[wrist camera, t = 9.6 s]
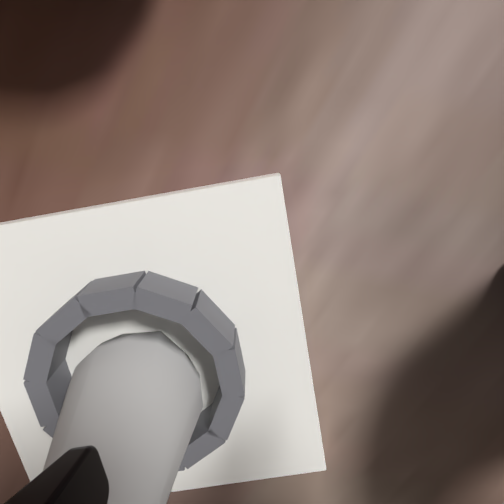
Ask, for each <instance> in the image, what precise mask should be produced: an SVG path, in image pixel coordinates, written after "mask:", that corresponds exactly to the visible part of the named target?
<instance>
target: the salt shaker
mask: <svg viewBox="0 0 504 504" xmlns="http://www.w3.org/2000/svg"><path fill="white" fill-rule="evenodd" d="M202 408H203V401H202V391H201V381H200V374H199V373H198V371H197V369H196V368H195V366H194V364H193V363H192V361H191V359H190V358H189V356H188V355H187V354H186V353H185V352H184V351H183V350H182V349H181V348H180V347H178V346H177V345H176V344H175V343H174V342H173V341H172V340H171V339H169V338H168V337H167V336H166V335H165V334H164V333H163V332H162V331H153V332H139V333H125V334H121V335H119V336H116V337H114V338H112V339H109V340H107V341H105V342H102V343H101V344H100V345H98V346H97V347H96V348H95V349H94V350H93V351H92V352H91V353H90V354H88V355H87V356H86V357H85V358H84V359H83V360H82V361H81V362H80V363H79V364H78V365H77V366H76V367H75V369H74V372H73V375H72V378H71V381H70V384H69V387H68V390H67V392H66V396H65V399H64V402H63V406H62V409H61V412H60V416H59V419H58V422H57V425H56V429H55V432H54V435H53V439H52V442H51V445H50V448H49V452H48V455H47V458H46V462H45V465H44V468H43V471H44V470H45V469H46V468H47V467H49V466H50V465H51V464H52V463H53V462H55V461H56V460H57V459H58V458H59V457H61V456H62V455H63V454H64V453H65V452H67V451H68V450H69V449H71V448H74V447H81V446H87V445H92V446H95V447H96V448H97V450H98V452H99V455H100V458H101V461H102V463H103V466H104V469H105V472H106V475H107V478H108V481H109V497H108V502H107V504H167V501H168V498H169V495H170V492H171V490H172V487H173V484H174V481H175V479H176V476H177V473H178V470H179V467H180V465H181V462H182V459H183V457H184V454H185V452H186V449H187V447H188V444H189V441H190V439H191V436H192V434H193V431H194V429H195V426H196V423H197V421H198V418H199V416H200V413H201V411H202Z"/></svg>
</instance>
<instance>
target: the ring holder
mask: <svg viewBox="0 0 504 504" xmlns="http://www.w3.org/2000/svg"><path fill="white" fill-rule="evenodd" d="M153 331H162V332H163V333H164V334H165V335H166V336H167V337H168V338H169V339H171V340H172V341H173V342H174V343H175V344H176V345H177V346H178V347H180V348H181V349H182V350H183V351H184V352H185V353H186V354H187V355H188V356H189V358H190V359H191V361H192V363H193V364H194V366H195V368H196V369H197V371H198V373H199V374H200V381H201V391H202V401H203V408H202V411H201V413H200V416H199V418H198V421H197V423H196V426H195V429H194V431H193V434H192V436H191V439H190V441H189V444H188V447H187V449H186V452H185V454H184V457H183V459H182V462H181V465H180V467H179V470H178V473H177V476H176V479H175V481H174V484H173V487H172V490H171V492H175V491H182V490H189V489H196V488H203V487H211V486H218V485H225V484H232V483H239V482H246V481H253V480H260V479H267V478H274V477H281V476H288V475H295V474H302V473H309V472H316V471H323V470H326V464H325V457H324V451H323V445H322V438H321V432H320V425H319V419H318V413H317V406H316V400H315V393H314V387H313V381H312V374H311V368H310V361H309V355H308V349H307V342H306V336H305V329H304V323H303V317H302V310H301V304H300V298H299V291H298V285H297V278H296V272H295V266H294V259H293V253H292V246H291V240H290V234H289V227H288V221H287V214H286V208H285V202H284V195H283V189H282V183H281V176H280V174H279V173H273V174H268V175H262V176H257V177H251V178H246V179H240V180H235V181H229V182H223V183H218V184H212V185H207V186H201V187H196V188H190V189H184V190H179V191H173V192H168V193H162V194H157V195H151V196H146V197H140V198H134V199H129V200H123V201H118V202H112V203H107V204H101V205H95V206H90V207H84V208H79V209H73V210H68V211H62V212H57V213H51V214H45V215H40V216H34V217H29V218H23V219H18V220H12V221H6V222H1V223H0V411H1V413H2V415H3V418H4V420H5V423H6V425H7V427H8V430H9V432H10V434H11V437H12V439H13V442H14V444H15V446H16V449H17V451H18V454H19V456H20V458H21V461H22V463H23V465H24V468H25V470H26V473H27V475H28V477H29V480H30V482H31V481H32V480H33V479H34V478H35V477H37V476H38V475H39V474H40V473H41V472H43V468H44V465H45V462H46V458H47V455H48V452H49V448H50V445H51V442H52V439H53V435H54V432H55V429H56V425H57V422H58V419H59V416H60V412H61V409H62V406H63V402H64V399H65V396H66V392H67V390H68V387H69V384H70V381H71V378H72V375H73V372H74V369H75V367H76V366H77V365H78V364H79V363H80V362H81V361H82V360H83V359H84V358H85V357H86V356H87V355H88V354H90V353H91V352H92V351H93V350H94V349H95V348H96V347H97V346H98V345H100V344H101V343H102V342H105V341H107V340H109V339H112V338H114V337H116V336H119V335H121V334H125V333H139V332H153Z"/></svg>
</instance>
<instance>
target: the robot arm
mask: <svg viewBox="0 0 504 504" xmlns="http://www.w3.org/2000/svg"><path fill="white" fill-rule="evenodd" d="M108 497H109V481H108V478H107V475H106V472H105V469H104V466H103V463H102V461H101V458H100V455H99V452H98V450H97V448H96V447H95V446H92V445H87V446H81V447H74V448H71V449H69V450H68V451H67V452H65V453H64V454H63V455H62V456H61V457H59V458H58V459H57V460H56V461H55V462H53V463H52V464H51V465H50V466H49V467H47V468H46V469H45V470H44V471H43V472H41V473H40V474H39V475H38V476H37V477H35V478H34V479H33V480H32V481H31V482H30V483H28V484H27V485H26V486H25V487H24V488H22V489H21V490H20V491H19V492H18V493H16V494H15V495H14V496H13V497H12V498H10V499H9V500H8V501H7V502H6V503H4V504H107V502H108Z"/></svg>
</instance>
